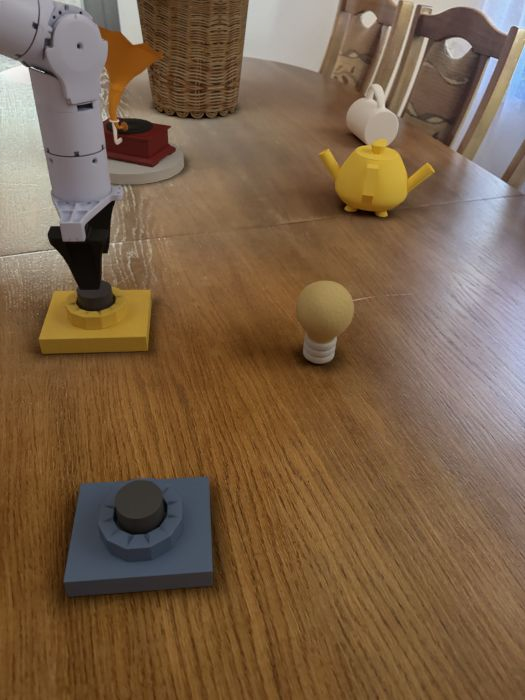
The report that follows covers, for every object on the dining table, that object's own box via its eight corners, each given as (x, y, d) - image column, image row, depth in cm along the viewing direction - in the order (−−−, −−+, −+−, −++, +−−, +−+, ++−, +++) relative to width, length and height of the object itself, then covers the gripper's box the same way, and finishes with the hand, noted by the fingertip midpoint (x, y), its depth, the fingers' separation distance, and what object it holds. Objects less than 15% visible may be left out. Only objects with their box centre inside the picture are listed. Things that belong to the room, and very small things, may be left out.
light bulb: (282, 345, 68) (289, 274, 62) (330, 336, 70) (341, 266, 64) (304, 379, 63) (313, 306, 57) (354, 368, 65) (368, 296, 59)
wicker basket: (141, 84, 157) (129, -64, 136) (266, 92, 157) (273, -54, 136) (109, 123, 129) (89, -54, 108) (261, 132, 129) (269, -43, 108)
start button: (115, 536, 43) (112, 520, 42) (119, 496, 46) (117, 481, 44) (163, 532, 43) (161, 517, 42) (164, 494, 46) (163, 478, 45)
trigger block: (41, 354, 64) (34, 326, 62) (57, 305, 72) (51, 278, 70) (147, 351, 66) (145, 323, 63) (151, 303, 74) (149, 277, 71)
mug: (361, 150, 123) (370, 92, 116) (343, 134, 131) (351, 79, 123) (395, 148, 125) (406, 91, 118) (375, 133, 133) (385, 78, 125)
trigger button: (76, 313, 65) (73, 298, 64) (81, 294, 68) (78, 279, 67) (111, 312, 65) (109, 297, 64) (115, 293, 69) (113, 279, 67)
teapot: (426, 195, 106) (441, 134, 99) (421, 236, 92) (438, 170, 85) (322, 178, 109) (329, 119, 102) (303, 216, 96) (309, 151, 89)
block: (67, 597, 43) (58, 569, 40) (84, 498, 50) (77, 469, 47) (213, 586, 44) (212, 558, 41) (209, 491, 51) (208, 462, 48)
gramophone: (154, 192, 101) (142, 35, 85) (56, 173, 105) (27, 20, 90) (200, 155, 116) (198, 16, 100) (113, 140, 121) (97, 5, 105)
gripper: (109, 176, 49) (125, 305, 57) (124, 123, 60) (136, 238, 68) (24, 175, 48) (54, 306, 56) (56, 122, 59) (76, 238, 68)
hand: (94, 269), depth 62 cm, fingers open, 7 cm apart
